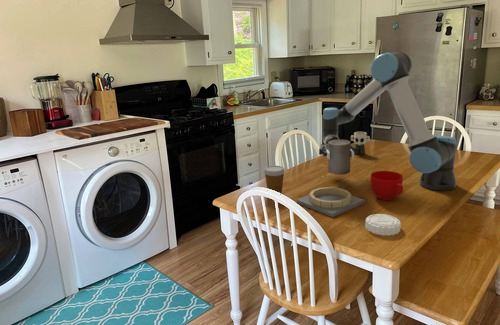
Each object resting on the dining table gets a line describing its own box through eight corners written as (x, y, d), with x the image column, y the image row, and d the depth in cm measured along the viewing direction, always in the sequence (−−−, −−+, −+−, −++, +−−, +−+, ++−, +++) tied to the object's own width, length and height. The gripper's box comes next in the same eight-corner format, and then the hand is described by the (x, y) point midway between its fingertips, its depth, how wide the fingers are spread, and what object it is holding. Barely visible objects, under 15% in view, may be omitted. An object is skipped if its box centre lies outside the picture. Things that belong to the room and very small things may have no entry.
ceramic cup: (387, 208, 153) (388, 185, 151) (363, 194, 169) (364, 173, 166) (414, 203, 157) (416, 180, 154) (388, 190, 172) (390, 169, 170)
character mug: (349, 154, 231) (350, 133, 227) (351, 151, 237) (352, 131, 233) (368, 156, 226) (369, 134, 223) (369, 152, 233) (370, 132, 229)
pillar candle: (348, 168, 175) (349, 136, 171) (351, 174, 166) (352, 141, 162) (327, 168, 177) (327, 136, 172) (328, 175, 167) (328, 141, 163)
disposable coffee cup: (284, 197, 170) (283, 171, 167) (262, 196, 172) (261, 171, 168) (286, 189, 179) (285, 165, 175) (266, 189, 181) (265, 165, 177)
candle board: (364, 203, 160) (364, 194, 158) (332, 217, 148) (332, 207, 147) (327, 191, 175) (327, 182, 174) (296, 202, 163) (296, 194, 162)
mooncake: (392, 220, 144) (393, 211, 143) (405, 235, 132) (406, 225, 131) (360, 222, 143) (361, 213, 142) (371, 237, 132) (372, 227, 131)
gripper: (355, 150, 186) (366, 163, 165) (310, 151, 188) (315, 164, 167) (356, 135, 184) (367, 146, 163) (310, 136, 186) (315, 148, 164)
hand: (340, 155), depth 165 cm, fingers closed on pillar candle, 9 cm apart
